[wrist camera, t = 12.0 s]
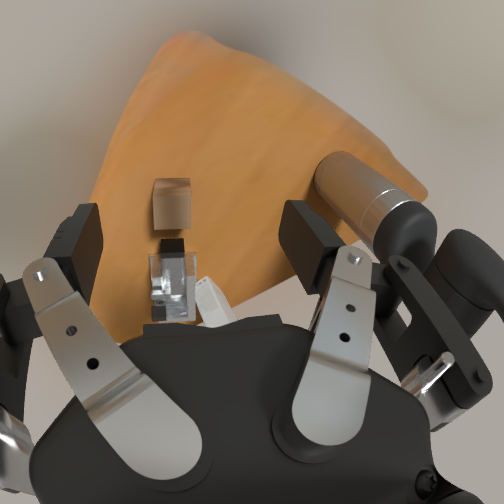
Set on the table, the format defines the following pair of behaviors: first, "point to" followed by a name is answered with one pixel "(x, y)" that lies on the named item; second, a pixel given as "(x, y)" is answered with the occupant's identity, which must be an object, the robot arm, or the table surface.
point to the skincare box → (212, 304)
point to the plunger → (171, 268)
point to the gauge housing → (184, 304)
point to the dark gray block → (159, 313)
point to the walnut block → (172, 203)
